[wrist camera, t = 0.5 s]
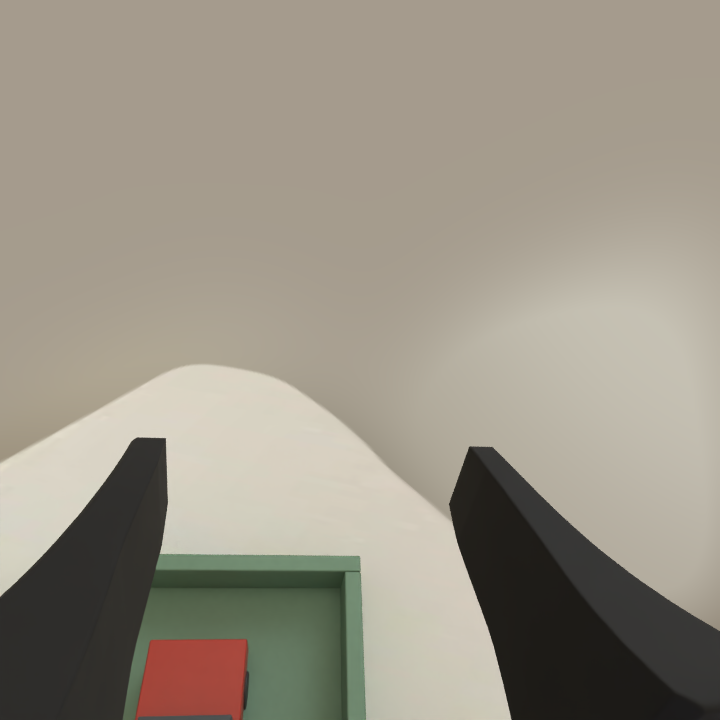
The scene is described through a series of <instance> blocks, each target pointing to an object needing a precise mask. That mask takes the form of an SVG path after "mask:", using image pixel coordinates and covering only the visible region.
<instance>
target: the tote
mask: <svg viewBox="0 0 720 720" xmlns="http://www.w3.org/2000/svg"><path fill="white" fill-rule="evenodd" d="M360 571H361V568H360V557H359V556H297V555H193V554H159V558H158V562H157V566H156V570H155V574H154V577H153V581H152V585H151V589H150V593H149V597H148V600H147V604H146V608H145V612H144V616H143V620H142V623H141V627H140V631H139V635H138V639H137V643H136V647H135V652H134V656H133V661H132V666H131V672H130V678H129V684H128V690H127V696H126V702H125V709H124V715H123V720H135V716H136V711H137V706H138V701H139V695H140V690H141V685H142V680H143V675H144V669H145V664H146V659H147V654H148V648H149V643H150V641H151V640H191V639H246V640H247V643H248V650H249V651H248V663H247V671H249V687H248V699H247V707H246V709H245V710H243V720H366V708H365V680H364V652H363V624H362V596H361V574H360Z"/></svg>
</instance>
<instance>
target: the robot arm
mask: <svg viewBox="0 0 720 720" xmlns="http://www.w3.org/2000/svg"><path fill="white" fill-rule="evenodd" d="M167 505H168V496H167V463H166V438H136V439H134V440H133V441H132V442H131V443H130V445H129V447H128V448H127V450H126V452H125V453H124V455H123V456H122V458H121V459H120V461H119V462H118V464H117V465H116V467H115V468H114V470H113V471H112V472H111V474H110V475H109V477H108V478H107V479H106V481H105V482H104V484H103V485H102V486H101V487H100V489H99V490H98V491H97V493H96V494H95V495H94V496H93V498H92V499H91V500H90V502H89V503H88V504H87V506H86V507H85V508H84V509H83V511H82V512H81V513H80V514H79V515H78V517H77V518H76V519H75V520H74V521H73V522H72V523H71V525H70V526H69V527H68V528H67V529H66V530H65V532H64V533H63V534H62V535H61V536H60V537H59V538H58V540H57V541H56V542H55V543H54V544H53V545H52V546H51V547H50V548H49V549H48V550H47V552H46V553H45V554H44V555H43V556H42V557H41V558H40V559H39V560H38V561H37V562H36V563H35V564H34V565H33V566H32V567H31V568H30V569H29V570H28V571H27V572H26V573H25V574H24V575H23V576H22V577H21V578H20V579H19V580H18V581H17V582H16V583H15V584H14V585H13V586H12V587H10V588H9V589H8V590H7V591H6V592H5V593H4V594H3V595H2V596H1V597H0V720H123V715H124V709H125V702H126V696H127V690H128V684H129V678H130V672H131V666H132V661H133V656H134V652H135V647H136V643H137V639H138V635H139V631H140V627H141V623H142V620H143V616H144V612H145V608H146V604H147V600H148V597H149V593H150V589H151V585H152V581H153V577H154V574H155V570H156V566H157V562H158V558H159V554H160V550H161V546H162V540H163V533H164V526H165V519H166V512H167ZM449 506H450V511H451V516H452V521H453V526H454V530H455V534H456V539H457V543H458V546H459V549H460V552H461V554H462V557H463V560H464V563H465V566H466V569H467V571H468V574H469V577H470V580H471V582H472V585H473V588H474V591H475V593H476V596H477V599H478V602H479V604H480V607H481V610H482V613H483V615H484V618H485V621H486V624H487V626H488V630H489V633H490V636H491V639H492V642H493V645H494V649H495V653H496V657H497V661H498V665H499V669H500V673H501V677H502V680H503V684H504V689H505V693H506V697H507V702H508V706H509V710H510V715H511V719H512V720H720V631H718V630H717V629H715V628H713V627H712V626H710V625H708V624H707V623H705V622H703V621H701V620H700V619H698V618H696V617H694V616H693V615H691V614H690V613H688V612H687V611H685V610H683V609H682V608H680V607H679V606H677V605H675V604H674V603H672V602H671V601H669V600H667V599H666V598H665V597H663V596H662V595H660V594H659V593H658V592H656V591H655V590H653V589H652V588H650V587H649V586H647V585H646V584H644V583H643V582H641V581H640V580H639V579H637V578H636V577H634V576H633V575H632V574H630V573H629V572H628V571H626V570H625V569H624V568H623V567H621V566H620V565H619V564H617V563H616V562H615V561H614V560H612V559H611V558H610V557H608V556H607V555H606V554H605V553H603V552H602V551H601V550H600V549H598V548H597V547H596V546H595V545H594V544H592V543H591V542H590V541H589V540H588V539H587V538H586V537H584V536H583V535H582V534H581V533H580V532H579V531H578V530H577V529H575V528H574V527H573V526H572V525H571V524H570V523H569V522H568V521H566V520H565V519H564V518H563V517H562V516H561V515H560V514H559V513H558V512H557V511H556V510H555V509H554V508H553V507H552V506H551V505H550V504H549V503H548V502H546V500H545V499H544V498H543V497H541V496H540V495H539V494H538V493H537V492H536V491H535V490H534V489H533V488H532V486H531V485H530V484H529V483H528V482H526V480H525V479H524V478H523V477H521V475H520V474H519V473H518V472H517V471H516V470H515V469H514V468H513V467H512V466H511V465H510V464H509V463H508V462H507V461H505V459H504V458H503V457H502V456H501V455H500V454H499V453H498V452H497V451H496V450H495V449H494V448H493V447H469V449H468V452H467V455H466V458H465V460H464V463H463V466H462V469H461V472H460V475H459V477H458V480H457V483H456V486H455V489H454V492H453V494H452V497H451V500H450V503H449Z"/></svg>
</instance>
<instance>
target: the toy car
mask: <svg viewBox="0 0 720 720" xmlns="http://www.w3.org/2000/svg"><path fill="white" fill-rule="evenodd" d="M248 651H249V650H248V643H247V640H246V639H191V640H151V641H150V643H149V648H148V654H147V659H146V664H145V669H144V675H143V680H142V685H141V690H140V695H139V701H138V706H137V711H136V716H135V720H243V710H245V709H246V707H247V699H248V687H249V671H247V663H248Z"/></svg>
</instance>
